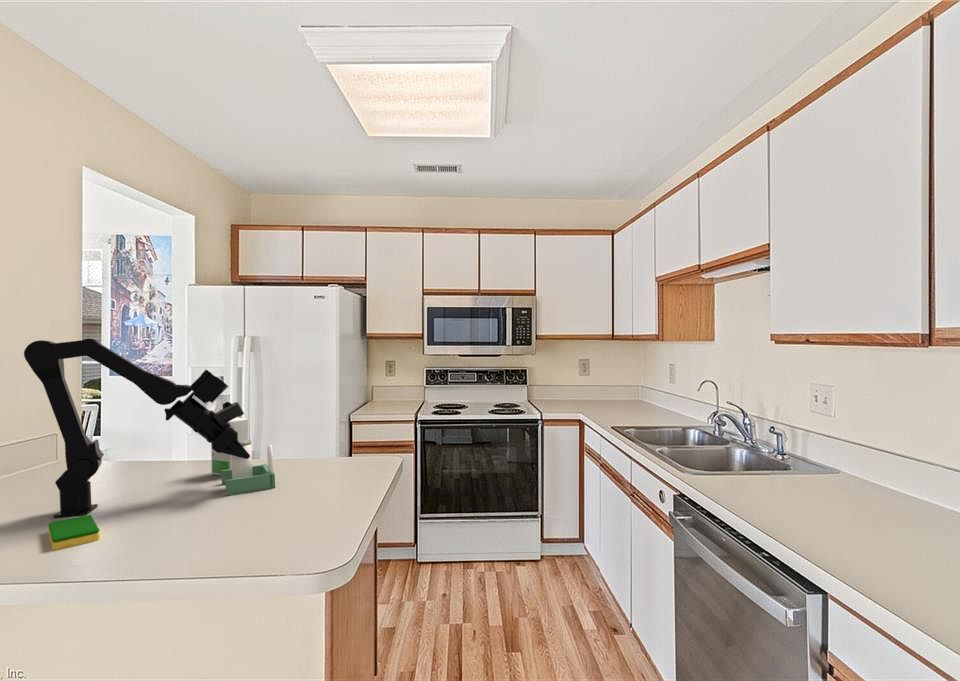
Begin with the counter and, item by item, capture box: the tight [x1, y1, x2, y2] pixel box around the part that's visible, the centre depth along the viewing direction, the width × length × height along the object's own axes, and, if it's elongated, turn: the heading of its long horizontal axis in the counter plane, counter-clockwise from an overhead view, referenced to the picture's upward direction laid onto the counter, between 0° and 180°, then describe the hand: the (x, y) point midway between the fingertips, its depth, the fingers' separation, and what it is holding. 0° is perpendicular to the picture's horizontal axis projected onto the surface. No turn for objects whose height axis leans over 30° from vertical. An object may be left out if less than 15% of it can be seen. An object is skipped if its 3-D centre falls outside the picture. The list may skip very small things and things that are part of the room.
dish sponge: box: [47, 514, 100, 551], centre depth 108 cm, size 7×14×2 cm, turn 41°
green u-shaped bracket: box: [221, 443, 276, 496], centre depth 142 cm, size 11×13×10 cm
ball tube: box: [231, 439, 253, 479], centre depth 141 cm, size 5×5×11 cm
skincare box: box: [210, 417, 249, 476], centre depth 156 cm, size 8×7×16 cm
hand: (247, 455), depth 142 cm, fingers open, 5 cm apart
